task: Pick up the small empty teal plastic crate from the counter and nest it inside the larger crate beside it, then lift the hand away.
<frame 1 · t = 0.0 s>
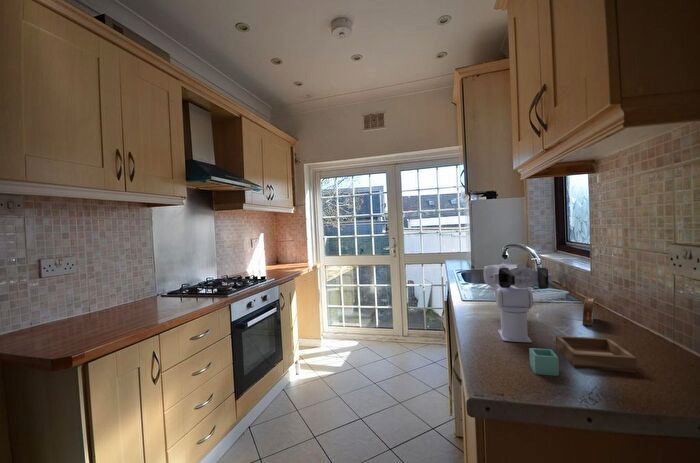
hand: (529, 280, 83), 22 cm above the counter, tool horizontal, fingers open, 7 cm apart
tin: (589, 323, 114), on the counter
big crate: (592, 359, 85), on the counter
small crate: (543, 370, 80), on the counter
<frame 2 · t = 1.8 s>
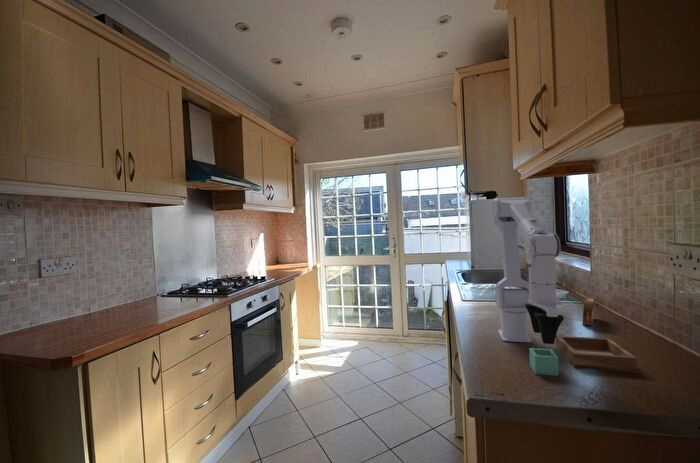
hand: (543, 337, 80), 8 cm above the counter, tool pointing down, fingers open, 7 cm apart
nothing on the counter moved.
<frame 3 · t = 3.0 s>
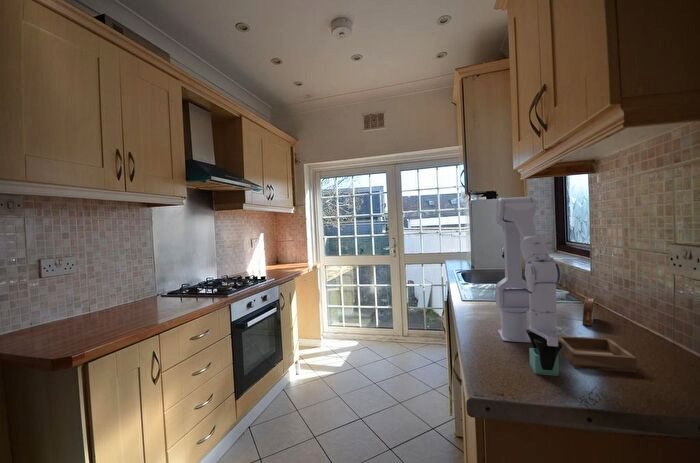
hand: (543, 364, 80), 1 cm above the counter, tool pointing down, fingers closed on small crate, 5 cm apart
small crate: (543, 370, 80), on the counter, touching gripper
everything else where it was.
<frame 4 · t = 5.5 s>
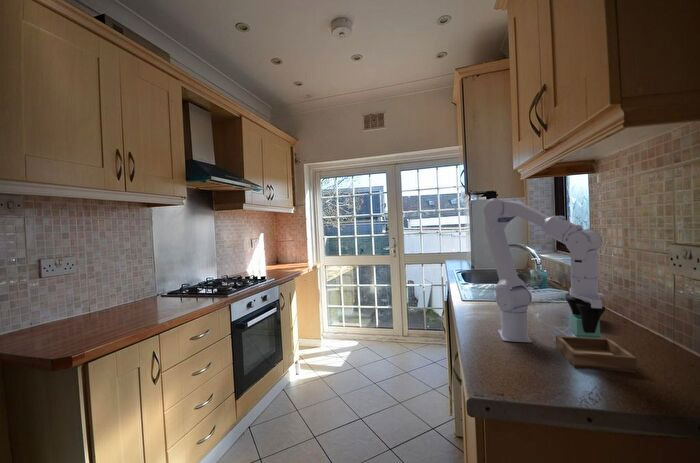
hand: (584, 328, 84), 8 cm above the counter, tool pointing down, fingers closed on small crate, 5 cm apart
small crate: (584, 334, 84), point 7 cm above the counter, touching gripper
everything else where it was.
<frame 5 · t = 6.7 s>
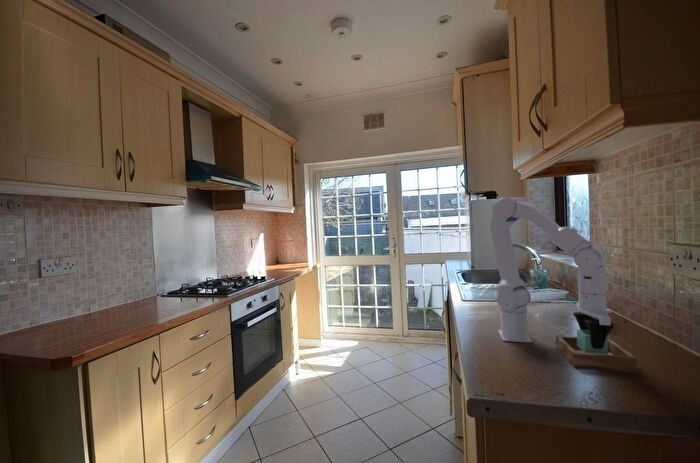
hand: (592, 344, 85), 4 cm above the counter, tool pointing down, fingers closed on small crate, 5 cm apart
small crate: (591, 349, 85), point 2 cm above the counter, touching gripper
everything else where it was.
when the fingers open (4 cm above the counter, at t = 7.5 s): small crate drops 2 cm, resting on big crate.
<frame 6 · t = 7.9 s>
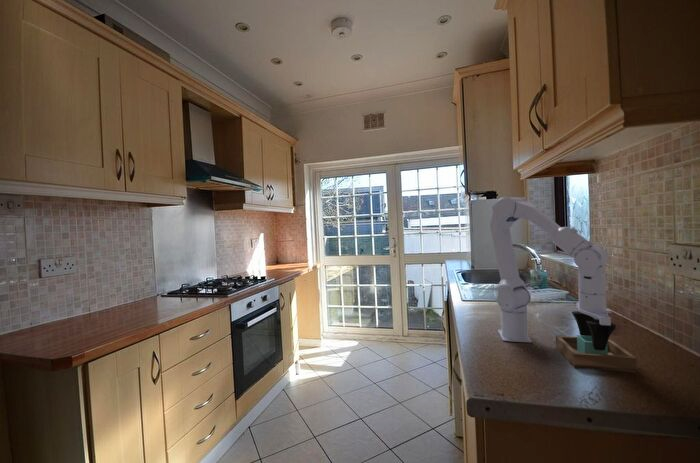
hand: (592, 344, 85), 4 cm above the counter, tool pointing down, fingers open, 7 cm apart
small crate: (591, 355, 85), point 1 cm above the counter, touching big crate
everything else where it was.
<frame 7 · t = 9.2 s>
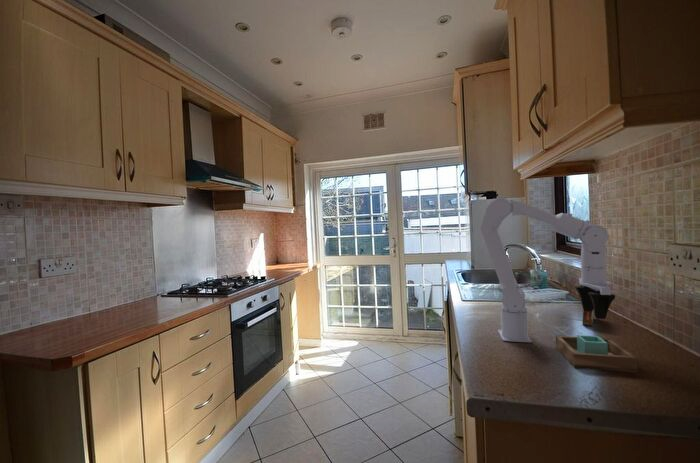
hand: (594, 314, 92), 9 cm above the counter, tool pointing down, fingers open, 7 cm apart
nothing on the counter moved.
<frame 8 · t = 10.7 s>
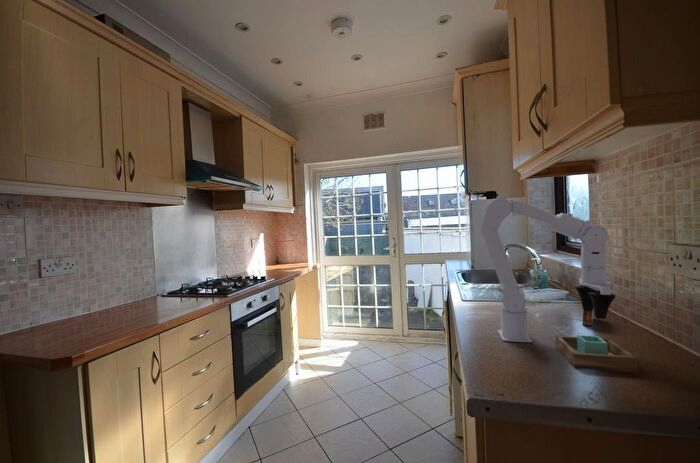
hand: (594, 314, 92), 9 cm above the counter, tool pointing down, fingers open, 7 cm apart
nothing on the counter moved.
at the end: small crate 0.1 cm off-centre on the big crate, point 0.8 cm above the big crate's base; small crate tilted 0°; the gripper is holding nothing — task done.
